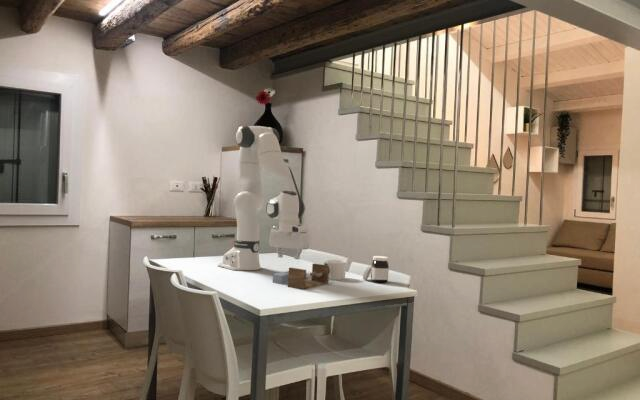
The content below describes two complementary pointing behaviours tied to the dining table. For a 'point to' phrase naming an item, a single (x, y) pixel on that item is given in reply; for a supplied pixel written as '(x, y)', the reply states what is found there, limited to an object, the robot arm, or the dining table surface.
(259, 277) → the dining table surface
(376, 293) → the dining table surface
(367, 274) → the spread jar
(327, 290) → the dining table surface
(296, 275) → the wooden u-shaped block
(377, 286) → the dining table surface
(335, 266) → the mug
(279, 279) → the blue-grey block
